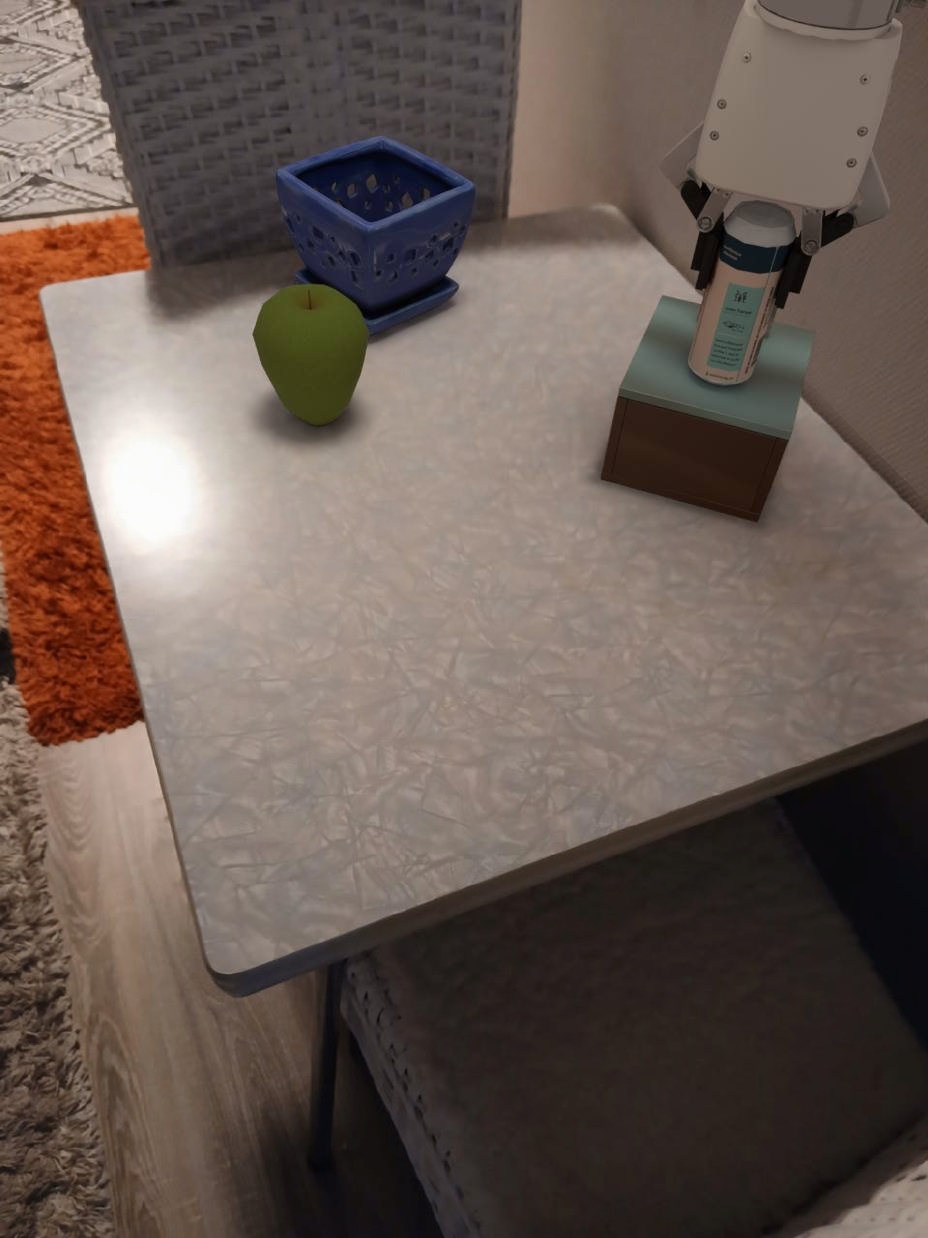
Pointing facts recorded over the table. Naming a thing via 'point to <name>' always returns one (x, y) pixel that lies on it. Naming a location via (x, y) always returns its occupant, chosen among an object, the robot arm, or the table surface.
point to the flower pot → (377, 227)
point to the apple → (312, 349)
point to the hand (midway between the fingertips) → (742, 287)
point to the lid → (746, 405)
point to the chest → (691, 458)
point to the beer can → (741, 291)
